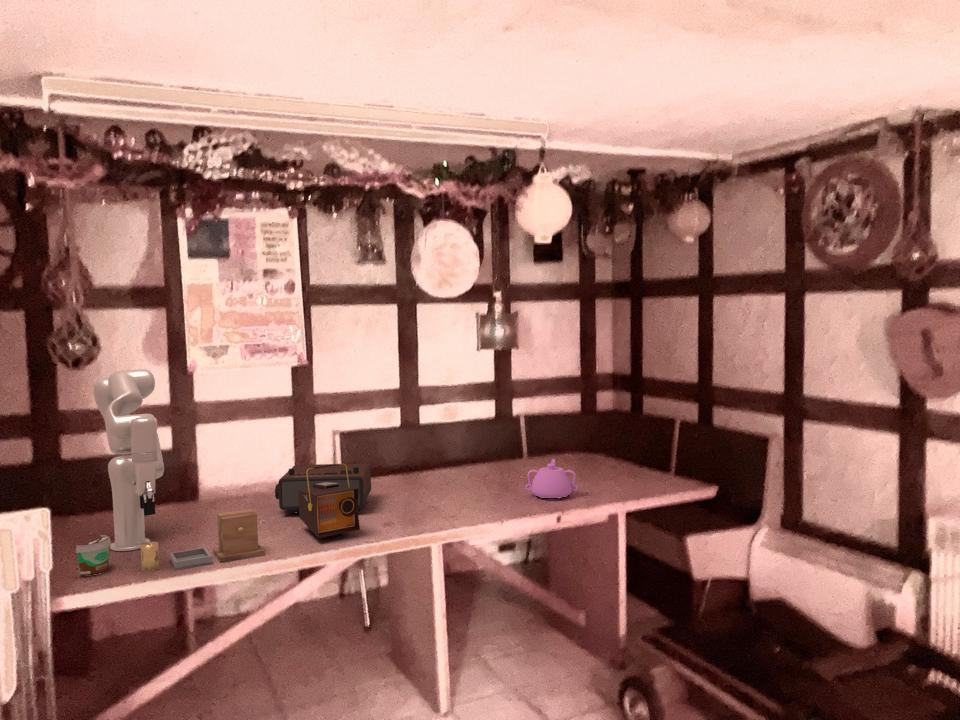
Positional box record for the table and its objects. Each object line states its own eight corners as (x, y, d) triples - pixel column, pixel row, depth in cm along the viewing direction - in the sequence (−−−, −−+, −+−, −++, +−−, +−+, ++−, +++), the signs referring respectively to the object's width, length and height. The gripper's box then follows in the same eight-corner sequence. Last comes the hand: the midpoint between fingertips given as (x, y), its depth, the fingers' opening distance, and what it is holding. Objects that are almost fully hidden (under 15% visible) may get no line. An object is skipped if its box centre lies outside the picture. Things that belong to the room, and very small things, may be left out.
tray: (170, 560, 250) (169, 552, 250) (205, 554, 256) (205, 547, 256) (175, 570, 241) (174, 562, 241) (212, 563, 246) (211, 556, 246)
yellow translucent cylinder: (141, 568, 243) (139, 543, 243) (158, 565, 246) (156, 540, 245) (142, 572, 239) (141, 547, 239) (160, 569, 242) (158, 544, 241)
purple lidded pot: (578, 489, 336) (578, 458, 335) (577, 502, 315) (577, 468, 314) (528, 488, 339) (527, 457, 338) (523, 501, 318) (523, 467, 317)
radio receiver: (273, 518, 300) (271, 472, 299) (288, 501, 327) (286, 459, 326) (363, 515, 301) (362, 470, 300) (371, 498, 328) (370, 456, 326)
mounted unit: (213, 552, 258) (211, 512, 257) (255, 545, 264) (254, 506, 263) (220, 562, 247) (218, 521, 246) (264, 555, 254) (263, 514, 253)
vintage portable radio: (319, 546, 262) (316, 473, 261) (292, 531, 281) (289, 463, 280) (362, 537, 272) (360, 466, 270) (333, 523, 291) (331, 457, 289)
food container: (95, 579, 234) (93, 546, 234) (77, 578, 235) (75, 546, 235) (121, 565, 246) (119, 534, 246) (103, 565, 247) (102, 534, 247)
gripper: (129, 454, 246) (131, 507, 247) (134, 462, 231) (137, 519, 232) (154, 451, 250) (157, 503, 251) (161, 460, 235) (164, 515, 236)
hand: (147, 511), depth 241 cm, fingers open, 9 cm apart
